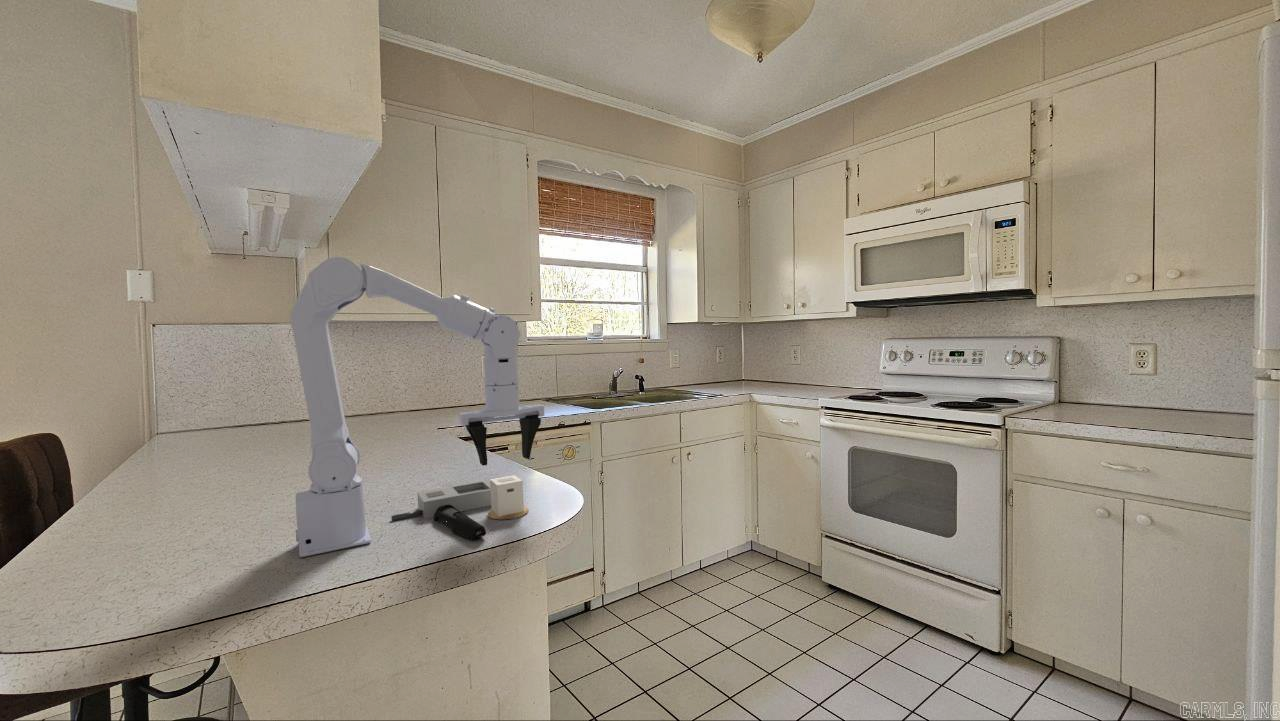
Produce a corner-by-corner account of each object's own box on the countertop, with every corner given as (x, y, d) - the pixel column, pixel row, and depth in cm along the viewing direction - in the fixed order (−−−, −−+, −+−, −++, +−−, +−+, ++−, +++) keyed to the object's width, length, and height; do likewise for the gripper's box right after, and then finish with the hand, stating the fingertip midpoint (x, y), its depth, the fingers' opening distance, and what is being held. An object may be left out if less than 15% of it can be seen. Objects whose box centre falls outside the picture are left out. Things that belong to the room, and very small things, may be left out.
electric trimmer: (469, 549, 82) (468, 528, 82) (431, 522, 94) (430, 504, 94) (492, 542, 85) (491, 522, 85) (453, 516, 96) (452, 499, 96)
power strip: (393, 525, 92) (392, 503, 92) (388, 513, 98) (387, 493, 98) (514, 501, 103) (513, 481, 103) (503, 492, 109) (502, 473, 109)
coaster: (494, 522, 92) (494, 520, 92) (483, 511, 98) (483, 509, 98) (534, 514, 95) (533, 512, 95) (521, 503, 101) (520, 501, 101)
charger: (498, 516, 93) (497, 484, 93) (491, 509, 97) (489, 478, 97) (524, 511, 96) (522, 480, 95) (516, 504, 100) (514, 474, 99)
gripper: (533, 379, 102) (536, 450, 103) (453, 385, 95) (458, 462, 96) (547, 382, 96) (550, 457, 97) (463, 389, 89) (467, 471, 89)
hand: (505, 460), depth 96 cm, fingers open, 7 cm apart
